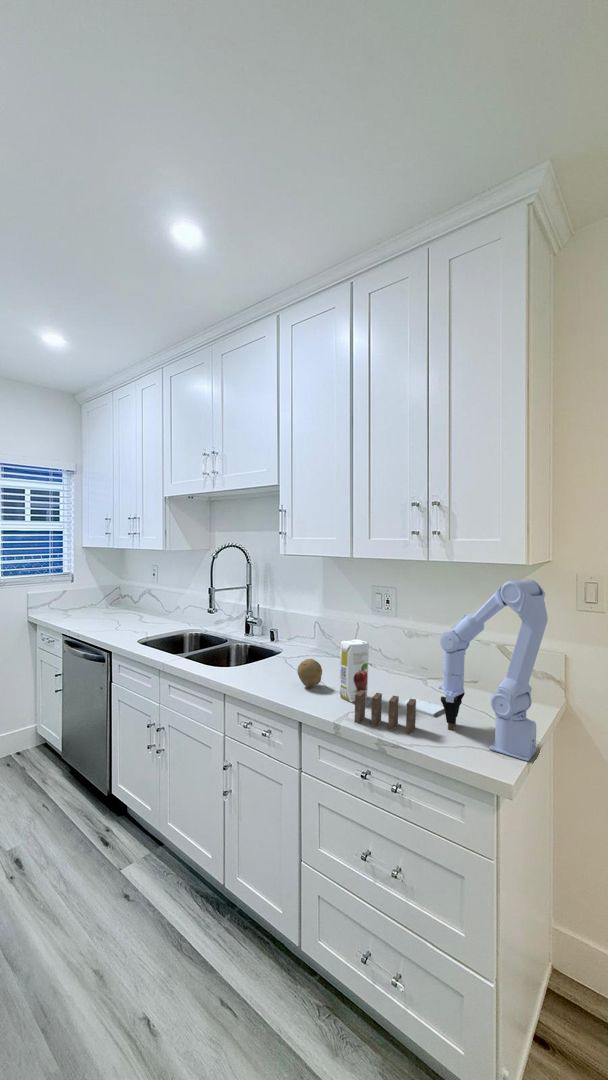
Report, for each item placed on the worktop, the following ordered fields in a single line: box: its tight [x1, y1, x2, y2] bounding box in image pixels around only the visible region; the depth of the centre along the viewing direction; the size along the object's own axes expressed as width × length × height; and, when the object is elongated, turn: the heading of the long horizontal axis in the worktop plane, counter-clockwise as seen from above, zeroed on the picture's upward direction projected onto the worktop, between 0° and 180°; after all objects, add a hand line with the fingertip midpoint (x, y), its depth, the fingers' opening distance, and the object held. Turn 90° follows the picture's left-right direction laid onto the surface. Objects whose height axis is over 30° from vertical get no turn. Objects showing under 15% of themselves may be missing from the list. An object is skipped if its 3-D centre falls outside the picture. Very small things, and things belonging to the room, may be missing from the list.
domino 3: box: [387, 695, 400, 731], centre depth 134 cm, size 2×5×8 cm, turn 155°
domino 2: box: [370, 692, 383, 727], centre depth 136 cm, size 2×5×8 cm, turn 155°
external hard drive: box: [398, 697, 445, 718], centre depth 149 cm, size 2×8×12 cm
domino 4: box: [405, 697, 417, 734], centre depth 132 cm, size 2×5×8 cm, turn 155°
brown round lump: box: [296, 658, 323, 689], centre depth 167 cm, size 9×9×10 cm
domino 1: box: [353, 690, 366, 724], centre depth 138 cm, size 2×5×8 cm, turn 155°
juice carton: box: [339, 639, 370, 703], centre depth 156 cm, size 8×9×19 cm
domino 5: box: [447, 697, 457, 731], centre depth 135 cm, size 2×5×8 cm, turn 155°
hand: (452, 719), depth 135 cm, fingers closed on domino 5, 5 cm apart
